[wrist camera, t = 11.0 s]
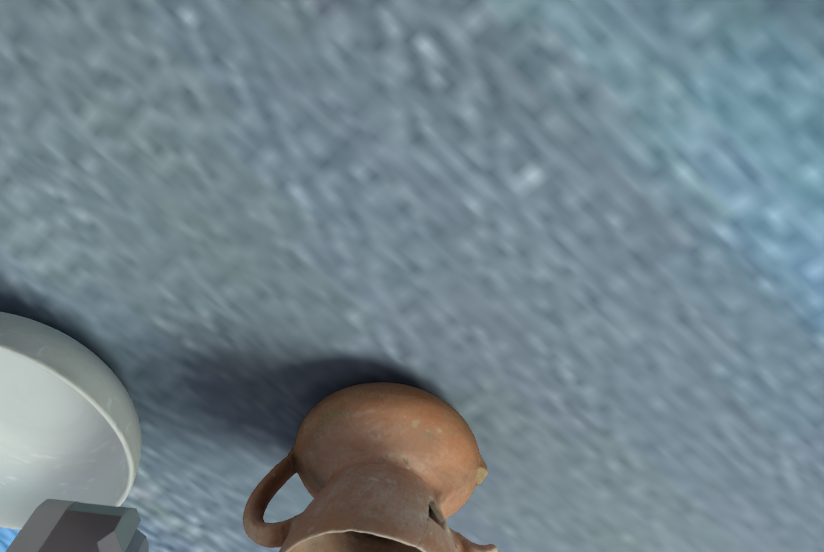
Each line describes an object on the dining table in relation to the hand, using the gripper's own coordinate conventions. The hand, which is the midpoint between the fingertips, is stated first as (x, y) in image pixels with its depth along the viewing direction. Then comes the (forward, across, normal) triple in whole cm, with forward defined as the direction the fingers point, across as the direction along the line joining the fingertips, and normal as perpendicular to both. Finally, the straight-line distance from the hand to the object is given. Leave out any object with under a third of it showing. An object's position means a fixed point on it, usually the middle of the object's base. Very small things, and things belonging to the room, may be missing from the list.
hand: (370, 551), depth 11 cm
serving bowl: (+29, +31, +26) cm, 50 cm away
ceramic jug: (+30, +3, +29) cm, 41 cm away
